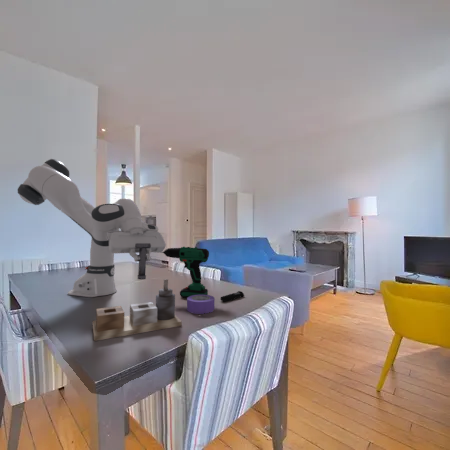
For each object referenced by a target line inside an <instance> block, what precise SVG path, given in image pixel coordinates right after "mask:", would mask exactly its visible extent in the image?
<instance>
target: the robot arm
mask: <svg viewBox="0 0 450 450" xmlns="http://www.w3.org/2000/svg"><path fill="white" fill-rule="evenodd" d="M17 194H18V196H19V197H20V198H21V200H23V202H25V203H28V204H30V205H34V206H39V205H41V204H43V203H45V201H46V200H47V201H48V202H50V204H52V205H53V206H54V207H55V208H56V209H57V210H59V211H60V212H61V213H63V214H64V215H66V216H67V217H69V218H70V219H71V220H72V221H73V222H74V223H76V224H77V225H78V226H79V227H80V228H81V229H82V230H84V231H85V232H86V233H87V234H88V235H89V236H90V237H91V241H90V248H89V249H90V251H89V254H90V255H89V265H88V266H85V267H84V270H85V271H86V272H85V273H84V274H82V275H81V276H79V278H77V279H76V280H75V281H74V283H73V287H72V289H70V290H69V291H68V292H67V295H69V296H78V297H84V298H85V297H86V298H97V297H100V296H107V295H112V294H114V293H117V288H116V283H115V270H116V269H115V261H114V260H115V258H114V257H115V256H114V255H115V254H129V256H131V258H133V260H134V262H139V261H140V255H139V249H136V248H135V244H136V243H150V244H151V247H150V248H146V262H149V261H151V259H152V258H151V253H157V252H164V251H165V247H166V245H167V244H166V241H165V239H164V237H163V235H162V234H161V232H159V227H158V226H156V225H153V224H150V223H148V222H147V223H146V222H145V221H143V219H142V213H141V211H140V209H139V207H138V205H137V204H136V203H135V201H134V200H133V199H130V198H127V197H123V198H119V199H118V200H116V201H115V202H113V203H102V204H99V205H97V206H95V207H94V206H93V205H92V204H91V203H90V202H88V200H86V199H85V198H83V197H82V196H81V193H80V190H79V188H78V185H77V184H76V183H75V182H74V181H73V180H72V179H71V178H70V170H69V169H68V168H67V165H65V164H64V163H63V162H61V161H60V160H57V159H55V158H50V159H48V160H46V161H45V162H44V163H43V164H42V165H38V166H33V167H32V169H31V170H30V171H29V173H28V176H27V178H26V179H25V180H24V181H23V183H21V184H20V185H19V186H18V187H17Z"/></svg>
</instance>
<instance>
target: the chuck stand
mask: <svg viewBox="0 0 450 450" xmlns="http://www.w3.org/2000/svg"><path fill="white" fill-rule="evenodd" d="M95 311H96V312H95V313H96V314H95V320H92V325H93V326H92V332H93V333H92V334H93V341H94V342H96V341H102V340H107V339H109V340H110V339H114V338H119V337H125V336H131V335H137V334H141V333H147V332H152V331H159V330H164V329H165V330H166V329H170V328H176V327H182V323H183V322H182V320H181V319H180V318H179V317H178V316H177V315H176V314H175V313H176V294H174V293H173V289H172V288H169V279H168V278H164V279H163V288H160V289H158V294H156V295H155V303H153V301H149V302H141V303H131V304H129V315H125V311H124V309H123V307H122V305H118V306H117V305H116V306H109V307H101V308H100V307H99V308H96V309H95Z"/></svg>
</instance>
